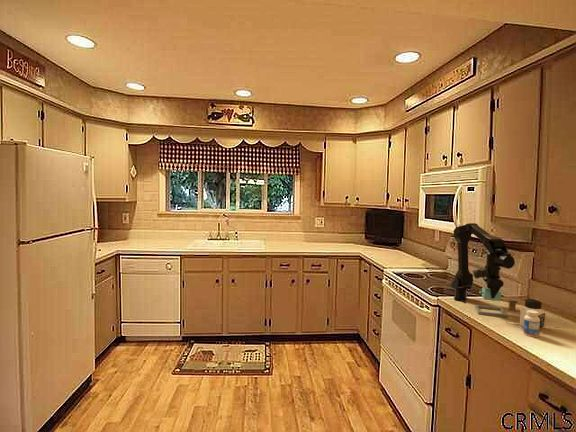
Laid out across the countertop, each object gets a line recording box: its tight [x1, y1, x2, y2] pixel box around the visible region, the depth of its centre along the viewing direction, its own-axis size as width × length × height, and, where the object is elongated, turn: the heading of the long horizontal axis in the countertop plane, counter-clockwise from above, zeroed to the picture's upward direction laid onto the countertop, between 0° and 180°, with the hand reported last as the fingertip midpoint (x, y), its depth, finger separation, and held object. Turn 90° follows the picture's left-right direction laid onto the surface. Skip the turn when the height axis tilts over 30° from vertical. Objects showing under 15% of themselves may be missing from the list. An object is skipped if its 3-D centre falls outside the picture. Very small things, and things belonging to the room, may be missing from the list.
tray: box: [474, 304, 508, 319], centre depth 179 cm, size 12×12×2 cm
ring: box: [479, 287, 502, 302], centre depth 179 cm, size 9×7×4 cm
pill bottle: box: [522, 310, 540, 338], centre depth 153 cm, size 6×5×10 cm
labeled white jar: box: [519, 298, 546, 331], centre depth 162 cm, size 7×7×12 cm
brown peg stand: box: [500, 299, 522, 314], centre depth 184 cm, size 8×8×5 cm
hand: (491, 296), depth 179 cm, fingers closed on ring, 7 cm apart
